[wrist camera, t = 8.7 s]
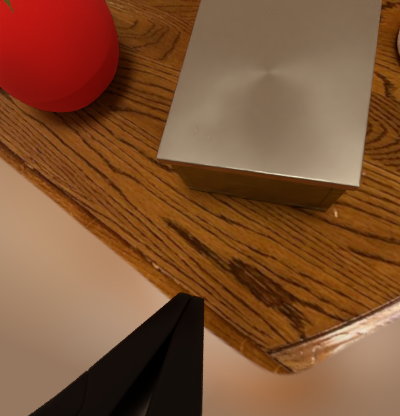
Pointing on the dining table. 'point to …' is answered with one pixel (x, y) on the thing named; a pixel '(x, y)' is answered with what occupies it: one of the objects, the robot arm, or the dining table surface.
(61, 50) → the tomato
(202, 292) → the dining table surface
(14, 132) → the dining table surface
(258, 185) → the metal tin box
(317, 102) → the bin lid
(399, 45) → the cream thick disc
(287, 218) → the dining table surface
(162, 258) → the dining table surface
